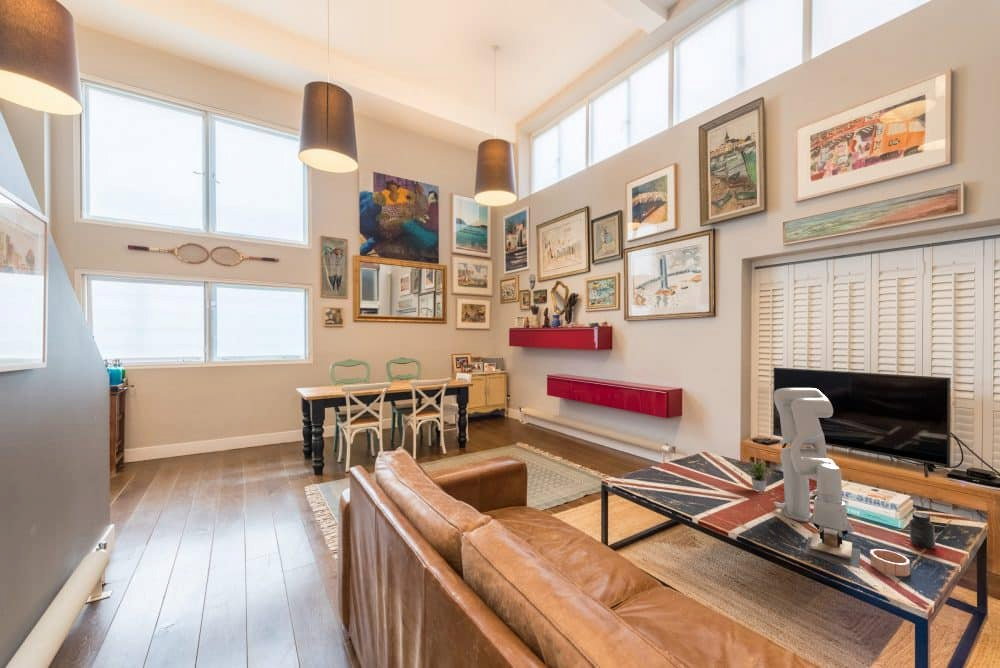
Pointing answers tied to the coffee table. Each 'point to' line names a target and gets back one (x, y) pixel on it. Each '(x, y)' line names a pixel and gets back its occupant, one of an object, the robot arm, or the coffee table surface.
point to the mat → (836, 558)
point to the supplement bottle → (922, 531)
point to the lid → (831, 544)
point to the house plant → (758, 476)
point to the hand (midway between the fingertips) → (831, 542)
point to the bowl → (890, 562)
